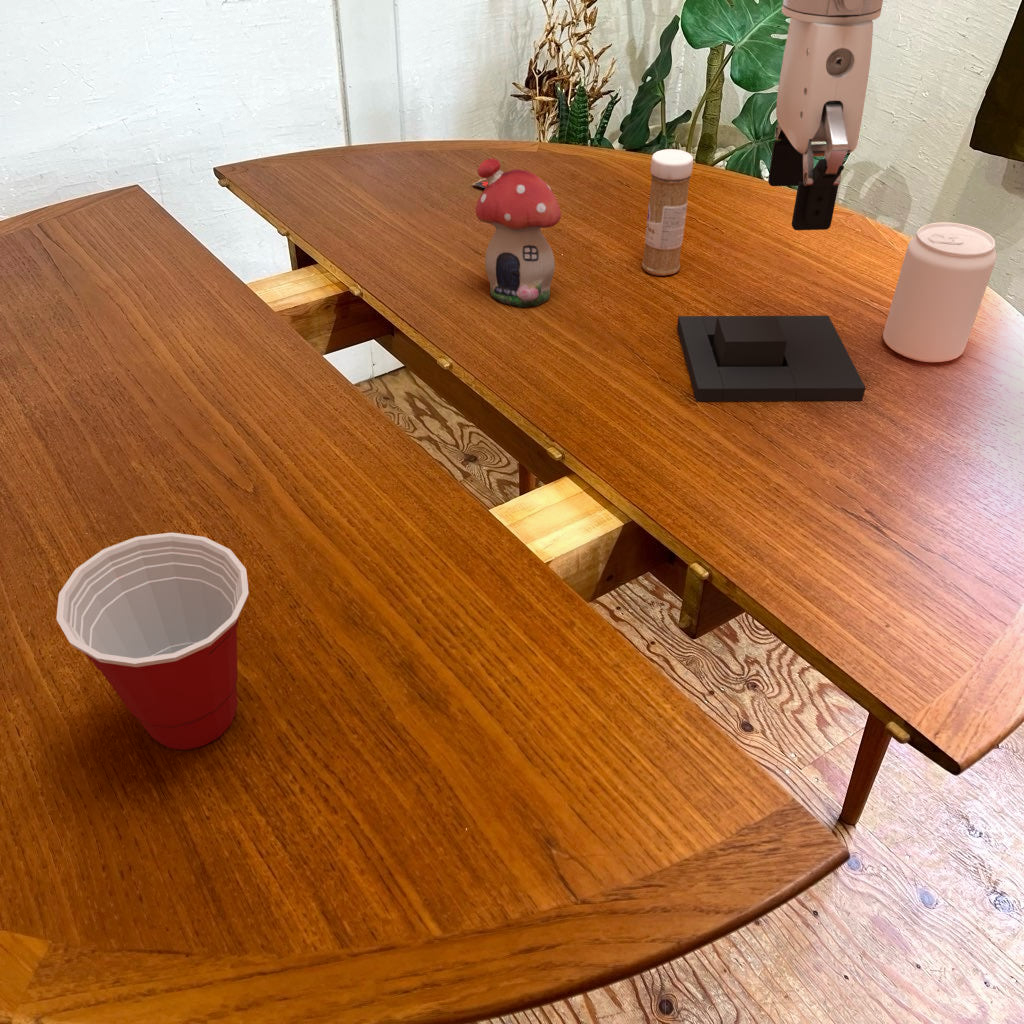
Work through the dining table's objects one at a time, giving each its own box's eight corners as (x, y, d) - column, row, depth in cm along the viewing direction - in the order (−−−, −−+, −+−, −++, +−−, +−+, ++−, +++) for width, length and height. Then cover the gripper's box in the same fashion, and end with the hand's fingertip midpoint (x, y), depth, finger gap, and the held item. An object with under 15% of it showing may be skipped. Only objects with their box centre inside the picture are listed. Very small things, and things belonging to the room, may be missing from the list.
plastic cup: (269, 778, 60) (233, 652, 53) (94, 790, 60) (31, 664, 52) (286, 648, 69) (257, 522, 61) (132, 658, 68) (82, 532, 60)
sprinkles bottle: (637, 261, 115) (647, 149, 106) (673, 258, 116) (686, 146, 107) (647, 279, 112) (658, 164, 103) (685, 276, 112) (699, 161, 104)
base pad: (825, 327, 103) (828, 315, 102) (862, 400, 92) (865, 387, 91) (676, 328, 103) (678, 315, 102) (696, 401, 92) (698, 388, 91)
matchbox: (501, 194, 130) (500, 191, 130) (468, 187, 132) (468, 184, 132) (517, 183, 133) (517, 179, 133) (485, 176, 135) (485, 173, 135)
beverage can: (963, 373, 96) (1003, 261, 88) (879, 359, 98) (910, 249, 90) (962, 334, 102) (999, 226, 94) (882, 322, 104) (912, 215, 96)
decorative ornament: (468, 293, 109) (463, 162, 99) (500, 271, 113) (498, 143, 104) (538, 315, 105) (540, 180, 96) (568, 291, 109) (573, 160, 100)
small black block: (769, 350, 100) (776, 315, 97) (780, 376, 96) (787, 341, 93) (711, 350, 100) (717, 315, 97) (719, 376, 96) (725, 341, 93)
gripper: (918, 18, 68) (866, 246, 79) (852, -33, 81) (816, 169, 92) (812, 21, 68) (775, 248, 79) (763, -30, 81) (737, 171, 92)
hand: (797, 205), depth 86 cm, fingers open, 9 cm apart
